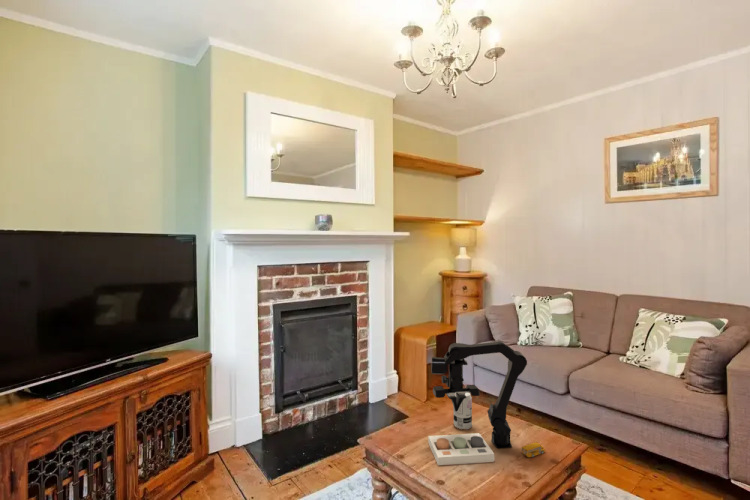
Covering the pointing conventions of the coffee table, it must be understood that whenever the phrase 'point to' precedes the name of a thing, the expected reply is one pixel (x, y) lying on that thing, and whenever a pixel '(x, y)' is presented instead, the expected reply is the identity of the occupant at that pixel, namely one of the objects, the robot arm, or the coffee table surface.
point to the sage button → (459, 443)
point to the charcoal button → (476, 442)
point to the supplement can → (464, 413)
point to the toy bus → (533, 449)
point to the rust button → (442, 444)
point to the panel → (460, 451)
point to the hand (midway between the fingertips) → (456, 411)
